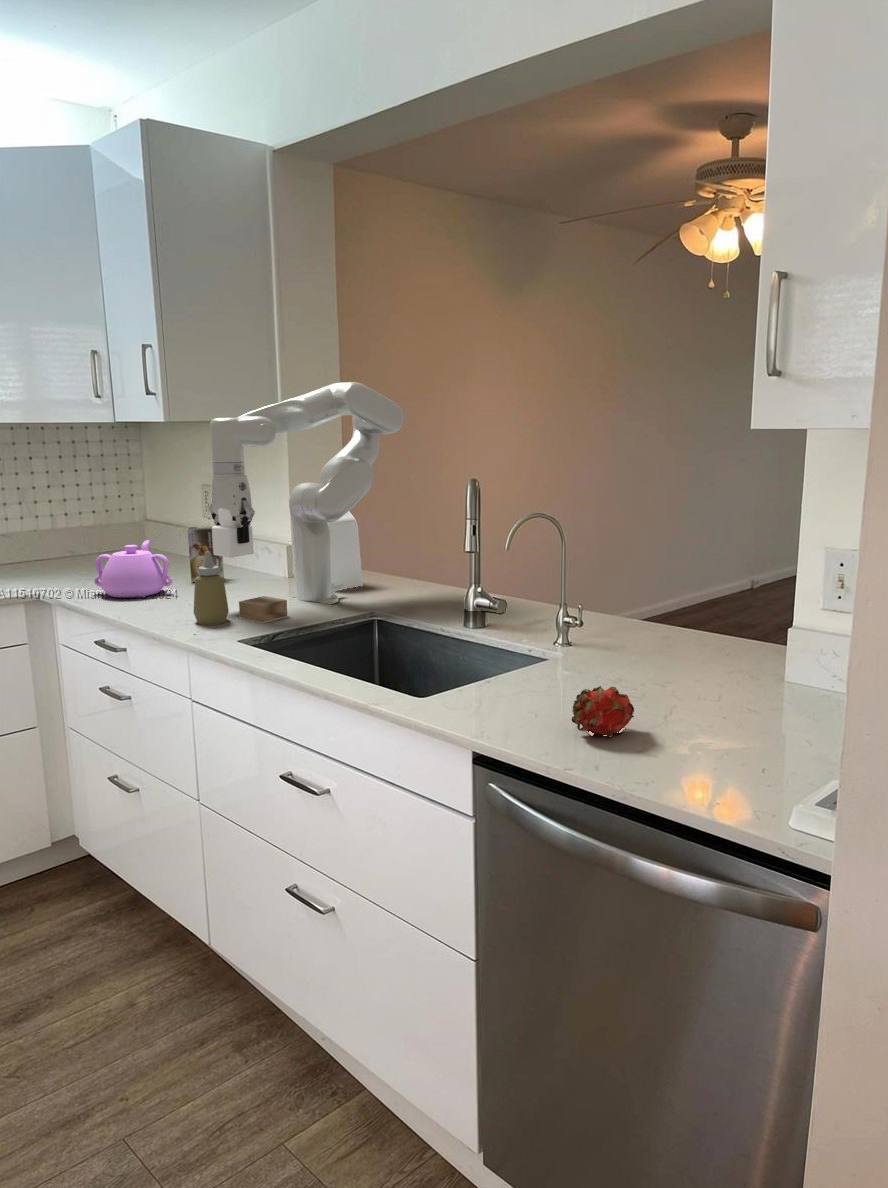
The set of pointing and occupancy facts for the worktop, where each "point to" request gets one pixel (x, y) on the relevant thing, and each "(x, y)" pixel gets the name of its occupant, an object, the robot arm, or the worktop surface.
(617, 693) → the dragon fruit
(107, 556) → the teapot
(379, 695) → the worktop surface
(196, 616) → the squeeze bottle
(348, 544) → the milk
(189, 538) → the coffee box
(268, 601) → the base block
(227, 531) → the medicine bottle
